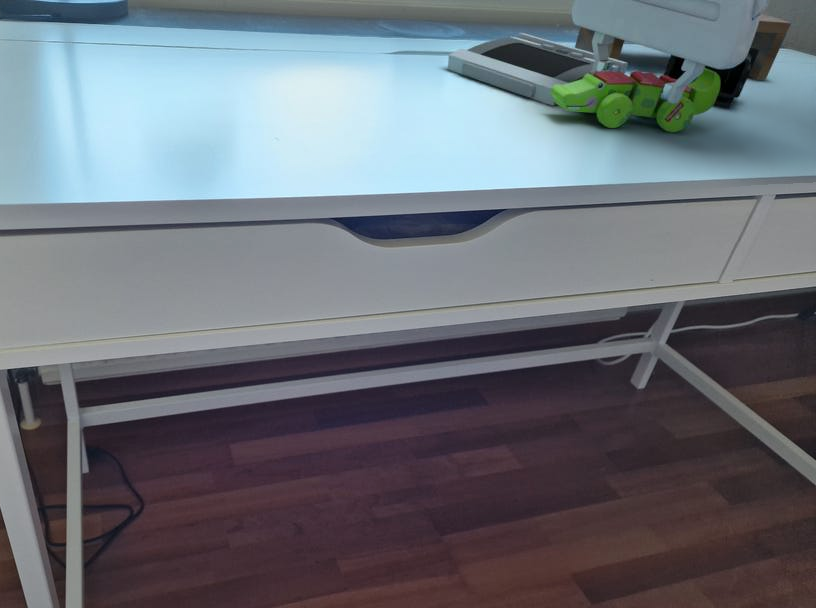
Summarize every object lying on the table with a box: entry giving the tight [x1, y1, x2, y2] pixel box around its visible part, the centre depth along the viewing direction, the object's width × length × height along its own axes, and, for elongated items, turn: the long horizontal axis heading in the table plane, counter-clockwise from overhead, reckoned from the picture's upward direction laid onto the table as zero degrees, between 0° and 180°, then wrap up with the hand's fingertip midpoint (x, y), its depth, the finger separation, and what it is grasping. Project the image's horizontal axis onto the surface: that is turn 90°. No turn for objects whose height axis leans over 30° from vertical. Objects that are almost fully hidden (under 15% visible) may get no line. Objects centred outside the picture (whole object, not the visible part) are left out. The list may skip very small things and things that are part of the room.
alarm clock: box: [447, 32, 629, 107], centre depth 89 cm, size 17×5×16 cm
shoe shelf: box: [574, 12, 792, 81], centre depth 101 cm, size 12×26×10 cm, turn 96°
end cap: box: [663, 47, 759, 109], centre depth 89 cm, size 10×7×7 cm
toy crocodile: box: [551, 68, 721, 133], centre depth 77 cm, size 20×7×6 cm, turn 95°
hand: (632, 88), depth 77 cm, fingers closed on toy crocodile, 8 cm apart
